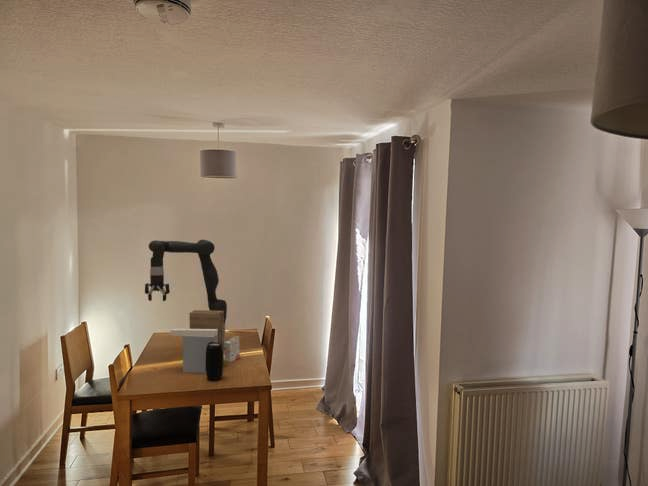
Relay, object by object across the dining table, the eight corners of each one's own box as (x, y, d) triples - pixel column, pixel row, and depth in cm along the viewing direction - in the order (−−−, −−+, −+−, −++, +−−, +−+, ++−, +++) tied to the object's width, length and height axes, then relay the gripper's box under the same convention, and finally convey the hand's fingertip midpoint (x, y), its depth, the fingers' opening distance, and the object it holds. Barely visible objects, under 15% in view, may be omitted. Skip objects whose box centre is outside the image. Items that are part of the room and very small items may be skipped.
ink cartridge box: (233, 357, 273) (233, 334, 272) (239, 358, 270) (239, 335, 269) (224, 360, 266) (224, 337, 265) (230, 362, 263) (229, 338, 262)
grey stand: (187, 368, 252) (187, 332, 250) (217, 369, 250) (217, 333, 249) (183, 372, 245) (182, 335, 244) (213, 373, 243) (213, 336, 242)
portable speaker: (205, 376, 238) (204, 342, 237) (222, 375, 241) (222, 340, 240) (206, 382, 230) (206, 346, 229) (224, 380, 233) (224, 344, 232)
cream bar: (172, 333, 248) (172, 328, 248) (217, 334, 248) (217, 329, 248) (170, 335, 244) (170, 330, 244) (216, 335, 244) (216, 330, 244)
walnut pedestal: (195, 361, 263) (194, 310, 261) (223, 363, 261) (223, 310, 259) (189, 366, 255) (189, 312, 253) (219, 367, 253) (219, 313, 251)
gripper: (142, 274, 253) (142, 301, 254) (165, 275, 252) (166, 302, 253) (148, 272, 261) (148, 299, 262) (171, 273, 260) (171, 300, 260)
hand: (157, 300), depth 257 cm, fingers open, 8 cm apart
